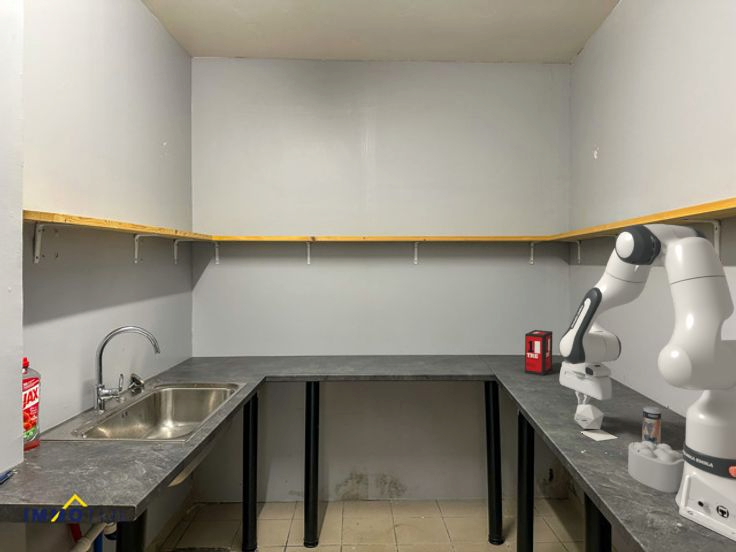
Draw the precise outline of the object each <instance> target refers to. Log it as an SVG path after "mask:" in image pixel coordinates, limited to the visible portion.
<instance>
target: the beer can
mask: <svg viewBox="0 0 736 552" xmlns="http://www.w3.org/2000/svg"><path fill="white" fill-rule="evenodd" d="M661 426H662V411H661V410H660V408H659V407H657V406H654V405H644V407H643V408H642V429H641V430H642V434H641V435H642V438H641V439H642V441H641V442H643V441H649V442H652V443H653V444H657V445H658V444H661V433H662V432H661V431H662V429H661Z"/></svg>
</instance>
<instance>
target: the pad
mask: <svg viewBox="0 0 736 552" xmlns="http://www.w3.org/2000/svg"><path fill="white" fill-rule="evenodd" d="M580 432H581V433H580V434H582V433H583V435H584V436H587V437H589V438H590V439H592V440H594V441H596V442H601V441H602V442H603V441H609V440H616V439H619V437H617V436H615V435H612V434H610V433H609V432H606V431H605V430H602V429H601V428H600V429H589V430H585V431H580Z"/></svg>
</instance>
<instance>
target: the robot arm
mask: <svg viewBox="0 0 736 552" xmlns="http://www.w3.org/2000/svg"><path fill="white" fill-rule="evenodd" d="M707 238H708V237H707V236H706V234H705V233H704V232H703V231H702V230H701V229H699V228H696V227H694V226H691V225H690V226H689V225H676V224H664V223H652V224H651V223H649V224H634V225H629V226H625V227H624V228H622V229H621V230H620V231H619V232H618V234H617V235H616V238H615V240H614V241H615V242H614V248H613V250H612V252H611V253H610V256H609V259H608V261H607V264H606V265H605V266H606V267H605V269H604V272H603V274H602V276H601V278H600V279H599V280H598V282H597V283H596V284H595V285H594V286H593V287H592V288H590V289H589V290H588V291H587V292H586V293H585V295H584V297H583V298H582V300H581V302H580V305H579V307H578V308H577V310H576V312H575V315H574V316H573V319H572V320H571V322H570V324H569V327H568V328H567V329H566V331H565V332H564V333H563V335H562V336H561V339H560V340H559V343H558V350H559V353H560V355H561V357H562V358H563V361H562V362H561V367H560V372H559V379H558V380H559V383H560V385H561V386H564V387H566V388H569V389H570V390H571V389H572V390H574V391H575V395H576V398H577V403H578V404H577V405H590V400H591V399H592V398H594V399H596V400H598V401H610V400H611V398H612V392H613V391H612V388H613V387H612V379H611V376H612V370H611V368H609V367H608V366H606V365H605V364H603V363H607V362H608V363H611V362H615V361H616V360H618V358H620V355H621V354H622V342H621V340H620V339H619V336H617V335H616V334H615V333H613V332H610V331H608V330H606V329H605V328H603V327H602V326H601V324H600V323H599V321H598V320H597V318H598V317H599V316H600V315H601V314H603V313H605V312H606V311H609V310H611V309H613V308H617V307H620V306H624V305H627V304H629V303H632V302H634V301H635V300H636V299H638V298H639V297H640V295H641V294H642V293H643V291H644V289H645V287H646V284H647V281H648V279H649V275H650V272H651V269H652V267H654V266H656V267H662V268H664V269H665V271H666V275H667V280H668V281H667V282H668V285H669V286H668V287H669V290H670V294H671V295H670V296H671V299H672V300H671V301H672V304H673V311H674V326H673V332H672V334H671V337H670V339H669V341H668V342H667V344H666V345H664V347H663V348H661V350H660V352H659V354H658V357H657V369H658V372H659V374H660V375H661V377H662V379H663V380H664V381H665V383H667V384H668V385H670V386H671V387H674V388H679V389H683V390H690V391H696V392H697V391H698V392H699V391H703V393H702V394H701V395H700V396H699V398H698V399H697V400H696V401H695V402H694V403H692V404H690V406H688V408H687V410H686V413H685V440H684V442H683V443H682V454H683V459H684V469H683V476H682V481H681V485H680V488H679V491H678V492H676V493H677V494H676V496H675V503H676V504H677V506H678V507H679V508H678V509H679V510H678V514H679V515H680V516H682V517H684V518H685V519H688V520H690V521H693V522H694V523H696V524H699V525H701V526H703V527H705V528H707V529H709V530H712V531H713V532H715V533H718V534H719V535H722V536H723V537H726V538H728V539H730V540H732V541H734V542H736V339H722V328H723V325H724V322H725V321H727V320H728V319H729V318H731V316H732V315H733V313H734V311H735V306H734V302H733V298H732V295H731V290H730V287H729V286H730V285H729V284H728V280H727V275H726V272H725V270H724V266H723V264H722V261H721V260H720V257H719V255H718V253H717V250H716V249H715V247H714V245H713V244H712V242H711V241H710V240H708V239H707Z"/></svg>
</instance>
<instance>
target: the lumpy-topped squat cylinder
mask: <svg viewBox="0 0 736 552" xmlns="http://www.w3.org/2000/svg"><path fill="white" fill-rule="evenodd" d="M627 454H628V455H627V456H628V459H627V460H628V461H627V462H628V465H627V468H628V469H627V473H628V474H629V476H630V477H632V479H634V480H635V481H636V482H639V483H641V484H643V485H645V486H647V487H649V488H652V489H654V490H657V491H660V492H664V493H669V494H676V493H678V491H679V488H680V485H681V481H682V476H683V469H684V459H683V453H681V452H678V451H676V450H673V448H672V446H670V445H669V444H667V443H660V444H658V445H657V444H653V443H652V442H649V441H643V442H642V441H641V442H639V441H636V442H631V443H629V444H628V453H627Z"/></svg>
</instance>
